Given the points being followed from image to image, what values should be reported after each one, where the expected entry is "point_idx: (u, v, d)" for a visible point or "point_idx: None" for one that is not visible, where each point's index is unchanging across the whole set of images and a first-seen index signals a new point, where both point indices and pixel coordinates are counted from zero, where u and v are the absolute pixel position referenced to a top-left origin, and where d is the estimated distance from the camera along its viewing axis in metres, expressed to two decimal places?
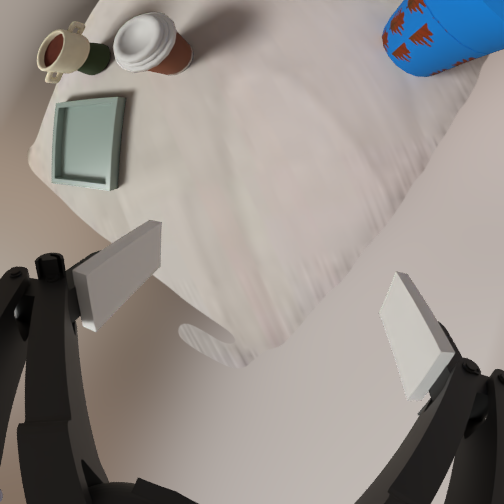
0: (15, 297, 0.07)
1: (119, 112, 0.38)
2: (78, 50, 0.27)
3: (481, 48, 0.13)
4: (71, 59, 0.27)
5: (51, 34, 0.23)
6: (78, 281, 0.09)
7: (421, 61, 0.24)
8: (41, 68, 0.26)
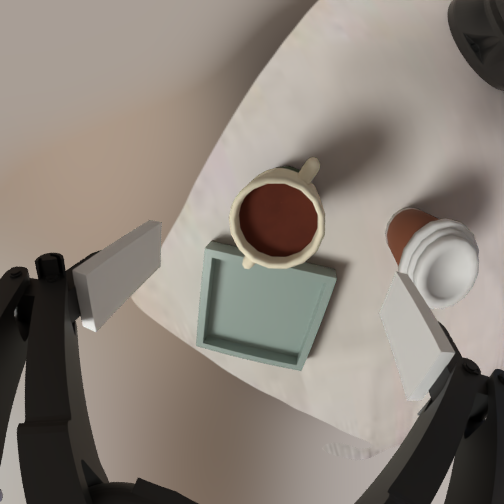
0: (15, 297, 0.07)
1: None
2: None
3: None
4: None
5: (271, 182, 0.19)
6: (78, 281, 0.09)
7: None
8: (251, 257, 0.22)
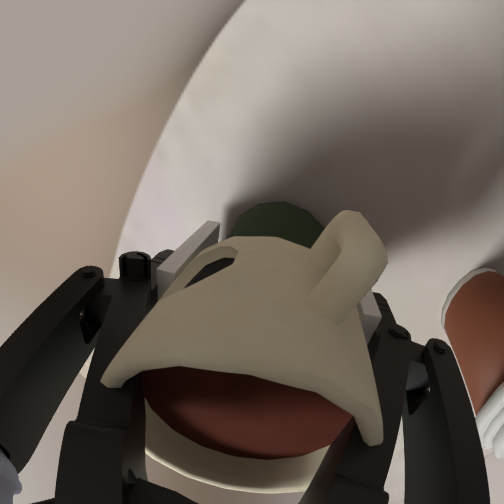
0: (84, 299, 0.08)
1: None
2: None
3: None
4: None
5: None
6: (162, 279, 0.10)
7: None
8: (183, 472, 0.07)
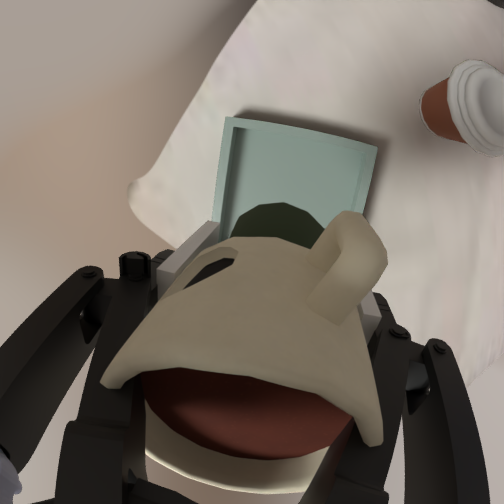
0: (84, 299, 0.08)
1: None
2: None
3: None
4: None
5: None
6: (162, 279, 0.10)
7: None
8: (183, 473, 0.07)
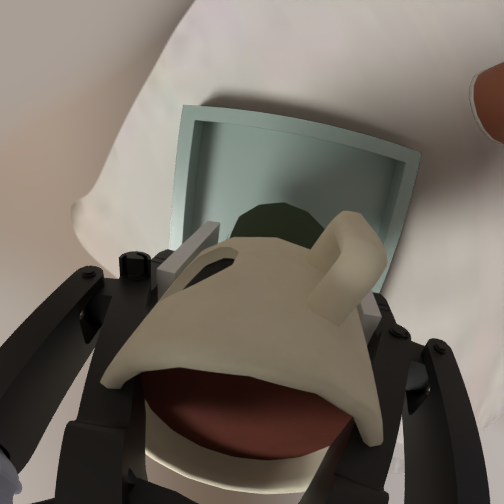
0: (84, 299, 0.08)
1: None
2: None
3: None
4: None
5: None
6: (162, 279, 0.10)
7: None
8: (183, 473, 0.07)
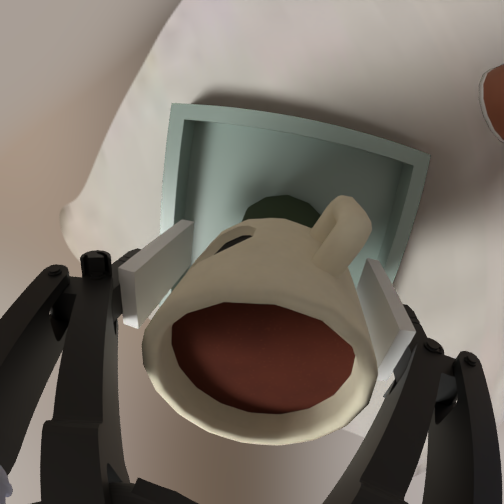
0: (52, 297, 0.08)
1: None
2: None
3: None
4: None
5: (236, 299, 0.06)
6: (124, 278, 0.10)
7: None
8: (205, 427, 0.09)
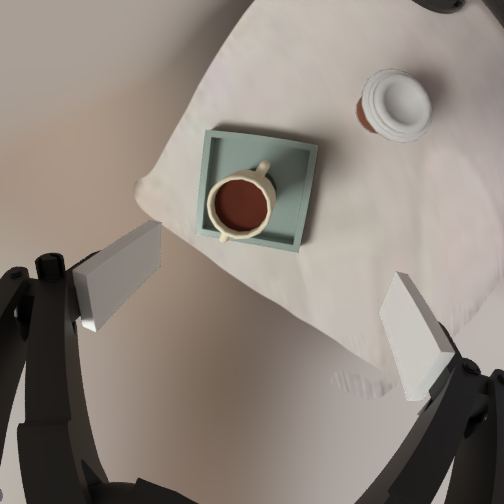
0: (15, 297, 0.07)
1: None
2: None
3: None
4: None
5: (233, 179, 0.29)
6: (78, 281, 0.09)
7: None
8: (223, 231, 0.31)
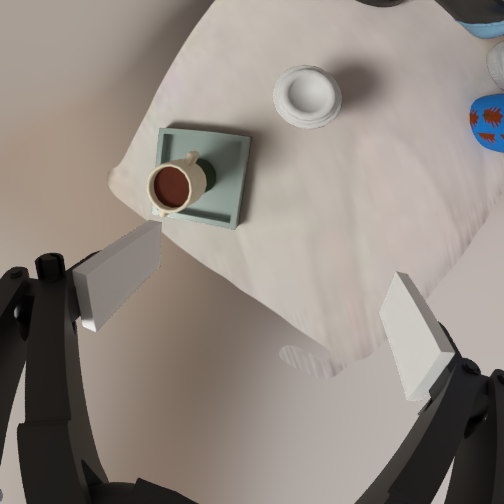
0: (15, 297, 0.07)
1: (247, 152, 0.44)
2: (200, 190, 0.39)
3: None
4: (194, 200, 0.39)
5: (164, 166, 0.35)
6: (78, 281, 0.09)
7: (501, 148, 0.30)
8: (158, 207, 0.38)
